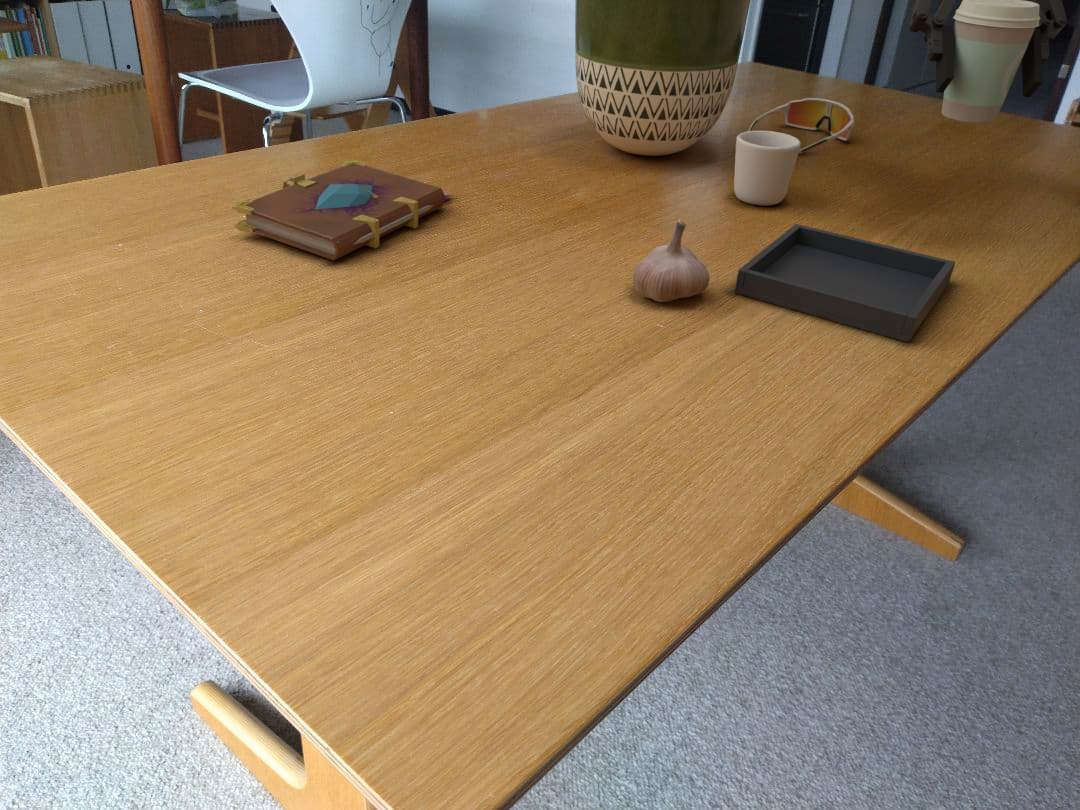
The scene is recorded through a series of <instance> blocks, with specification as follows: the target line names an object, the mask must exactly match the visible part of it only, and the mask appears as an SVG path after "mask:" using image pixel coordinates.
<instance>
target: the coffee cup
mask: <svg viewBox="0 0 1080 810" xmlns="http://www.w3.org/2000/svg"><path fill="white" fill-rule="evenodd" d="M952 19H954V26H953V76H954V78H953V80H952V81H951V83H950V84H949V85H948V87H947V88H946V90H945V91H944V92H943V99H942V106H941V111H940V114H941V115H942V116H943V117H944V118H947V119H950V120H953V121H957V122H963V123H971V124H990V123H994V122H996V121H997V118H998V116H999V114H1000V112H1001V109H1002V107H1003V105H1004V102H1005V100H1006V98H1007V95H1008V93H1009V91H1010V88H1011V87H1012V84H1013V81H1014V80H1015V77H1016V75H1017V72H1018V70H1019V67H1020V65H1021V64H1022V58H1023V56H1024V53H1025V51H1026V49H1027V46H1028V44H1029V41H1030V39H1031V37H1032V34H1033V32H1034V30H1035V27H1038V26H1039V20H1040V17H1039V4H1037V3H1034V2H1030V1H1024V0H962V1H961V3H960V5H959V7H958V8H957V9H956V10H955V14H954V16H953V17H952Z"/></svg>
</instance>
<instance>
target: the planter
mask: <svg viewBox="0 0 1080 810" xmlns="http://www.w3.org/2000/svg"><path fill="white" fill-rule="evenodd" d="M574 3H575V7H574V8H575V9H574V21H575V22H574V23H575V24H574V37H575V38H574V45H575V46H574V48H575V49H574V51H575V53H574V55H575V56H574V58H575V59H574V60H575V64H574V65H575V82H576V87H577V93H578V98H579V102H580V105H581V108H582V111H583V113H584V115H585V117H586V119H587V121H588V122H589V124H590V125H591V127H592V128H593V129H594V130H595V132H596V133H597V134H598V135H599V136H600V137H601V138H602V139H604V140H605V141H606V142H607V143H608V144H609V145H611V146H612V147H614V148H616V149H617V150H619V151H620V150H621V151H622V152H625V153H628V154H632V155H638V156H645V157H660V156H668V155H673V154H677V153H680V152H682V151H684V150H686V149H688V148H690V147H691V146H693V145H694V144H696V143H698V141H700V140H701V139H702V138H703V137H705V136H706V135H707V134H708V133H709V132H710V131H711V130H712V128H713V127H714V126H715V125H716V124H717V122H718V121H719V120H720V118H721V116H722V114H723V112H724V110H725V109H726V106H727V103H728V101H729V98H730V97H731V96H730V95H731V93H732V90H733V87H734V83H735V79H736V74H737V70H738V65H739V60H740V56H741V50H742V45H743V40H744V36H745V31H746V25H747V20H748V14H749V10H750V5H751V0H575V1H574Z"/></svg>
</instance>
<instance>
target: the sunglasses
mask: <svg viewBox="0 0 1080 810" xmlns="http://www.w3.org/2000/svg"><path fill="white" fill-rule="evenodd" d="M782 112H784V124H785V125H786V126H790V127H793V128H798V129H804V130H811V131H816V130H818V129H819V128H820V127H821V126H822V124H824V122H825V121H826V120H827V131H828V132H829V134H830V136H826V137H824V138H822V139H820V140H818V141H815V142H814V143H812V144H811V143H810V144H809V145H807V146H805V147H803V148H800V149H799V153H798V155H799V154H803V153H805V152H808V151H810V150H812V149H814V148H817V147H818V146H821V145H823V144H825V143H828V142H831V141H832V142H833V140H835V139H839V140H840V141H841V140H842V141H843V142H847V141H849V138H850V137H851V135H852V131H853V128H854V125H855V118H854V117H855V116H854V115H853V113H852V111H851V110H850V108H849V107H847V106H846V105H844V104H842V103H840V102H839V101H836V100H835V101H834V100H830V99H826V98H817V97H805V98H803V99H796V100H795V99H794V100H790V101H789V102H787V103H786V104H782V105H780V106H777V107H775V108H773V109H770V110H768V111H767V112H765V113H763V114H761V115H760V116H758V117H757V118H755V119H754V120H753V122H752V123H751V124H750V126H749V128H748V131H753V129H754V126H756V124H757V123H759V122H761V121H762V120H763V119H765V118H766V117H768V116H770V115H773V114H780V113H782Z"/></svg>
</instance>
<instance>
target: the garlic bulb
mask: <svg viewBox="0 0 1080 810" xmlns="http://www.w3.org/2000/svg"><path fill="white" fill-rule="evenodd" d="M686 226H687V224H686V222H685V221H683V220H682V219H678V220H677V222H676V223H675V228H674V232H673V234H672V236H671V239H670V241H669V243H668V244H661V245H659V246H656V247H655V248H653V249H652V250H651V251H650V252H649V253H648V254H647V255H646V256H645V257H644V258H642V259H640V261H638V263H637V264H636V266H635V268H634V270H633V274H632V283H633V287H634V289H635V291H636V292H637V293H638V294H639V295H640V296H642V297H644V298H647V299H652V300H653V301H655V302H658V303H665V302H666V303H667V302H668V303H669V302H673V301H674V300H678V299H681V298H682V299H685V298H689V297H692V296H698V295H700V294H702V293H703V292H704V291H705V290H706V289H707V288H708V286H709V283H710V273H709V270H708V268H707V267H706V265H705V264H704V263H703V262H701V261H700V260H699V259H698V258H697V256H696V255H695V253H694V252H693V251H692V250H691V249H690V248H687V247H684V246H683V245H682V237H683V234H684V231H685V229H686Z"/></svg>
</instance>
